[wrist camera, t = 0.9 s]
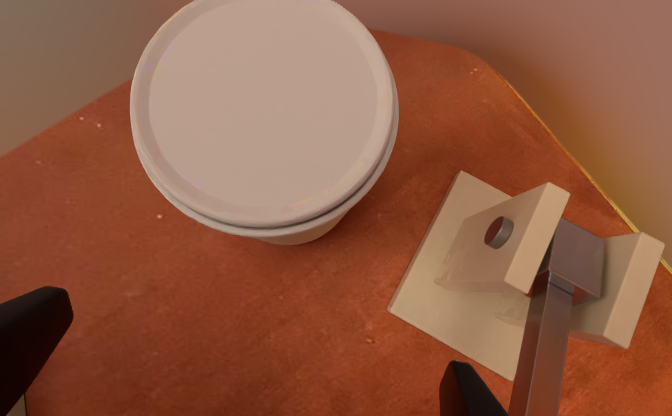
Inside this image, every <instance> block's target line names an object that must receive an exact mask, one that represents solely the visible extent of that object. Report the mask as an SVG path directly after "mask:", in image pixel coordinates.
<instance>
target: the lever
mask: <svg viewBox="0 0 672 416" xmlns="http://www.w3.org/2000/svg"><path fill="white" fill-rule="evenodd" d="M604 247H605V241H604V240H603V239H601V238H599V237H598V236H596V235H594V234H592V233H590V232H588V231H586V230H585V229H583V228H581V227H579V226H577V225H575V224H573V223H572V222H570V221H568V220H566V219H564V218H562V217H561V218H560V220H559V222H558V225H557V227H556V229H555V232H554V234H553V236H552V239H551V241H550V243H549V246H548V248H547V250H546V253H545V255H544V257H543V260H542V262H541V264H540V267H539V269H538V271H537V274H536V276H535V278H534V281H533V283H532V285H531V288H530V290H529V292H528V294H523V295H525V296H527V297H529V298H530V303H529V308H528V313H527V319H526V324H525V329H524V334H523V339H522V344H521V349H520V354H519V359H518V364H517V369H516V374H515V379H514V385H513V390H512V395H511V400H510V405H509V410H508V415H509V416H558V412H559V404H560V397H561V389H562V381H563V373H564V365H565V357H566V349H567V342H568V334H569V326H570V318H571V310H572V307H573V306H576V305H579V304H582V303H585V302H588V301H591V300H594V299H597V298H599V297H600V296H601V284H602V272H603V259H604Z"/></svg>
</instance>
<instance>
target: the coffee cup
mask: <svg viewBox="0 0 672 416" xmlns="http://www.w3.org/2000/svg"><path fill="white" fill-rule="evenodd" d="M130 115H131V127H132V135H133V139H134V144H135V148H136V151H137V153H138V156H139V159H140V161H141V163H142V165H143V167H144V169H145V171H146V173H147V175H148V176H149V178H150V179H151V181H152V182H153V184H154V185H155V186H156V187H157V189H158V190H159V191H160V192H161V193H162V194H163V196H164V197H165V198H166V199H167V200H169V201H170V202H171V203H172V204H173V205H174V206H175V207H176V208H178V209H179V210H180V211H182V212H183V213H184V214H186V215H187V216H189V217H190V218H192V219H194V220H196V221H197V222H199V223H201V224H203V225H206V226H208V227H210V228H213V229H215V230H218V231H222V232H225V233H228V234H233V235H238V236H243V237H251V238H254V239H258V240H262V241H265V242H269V243H273V244H279V245H299V244H303V243H307V242H310V241H313V240H315V239H317V238H319V237H321V236H323V235H324V234H326V233H327V232H328V231H330V230H331V229H332V228H333V227H334V226H335V225H336V224H337V223H338V222H339V221H340V220H341V219H342V218H343V216H344V215H345V214H346V213H347V212H348V211H349V210H350V209H351V208H352V207H353V206H354V205H355V204H357V203H358V202H359V201H360V200H361V199H362V198H363V197H364V196H365V195H366V194H367V193H368V192H369V190H370V189H371V188H372V187H373V185H374V184H375V183H376V182H377V180H378V178H379V177H380V175H381V174H382V172H383V171H384V169H385V167H386V164H387V162H388V160H389V158H390V156H391V153H392V150H393V147H394V143H395V139H396V135H397V129H398V120H399V103H398V95H397V89H396V85H395V81H394V77H393V74H392V72H391V69H390V66H389V64H388V62H387V60H386V58H385V56H384V54H383V53H382V51H381V48H380V46H379V45H378V43H377V42H376V40H375V39H374V37H373V36H372V34H371V33H370V32H369V31H368V29H367V28H366V27H365V26H364V25H363V24H362V23H361V22H360V21H359V20H358V19H357V18H356V17H355V16H354V15H353V14H352V13H350V12H349V11H348V10H346V9H345V8H344V7H342V6H341V5H339V4H338V3H336V2H335V1H333V0H195V1H193V2H191V3H190V4H188V5H186V6H185V7H183V8H182V9H180V10H179V11H178V12H177V13H176V14H174V15H173V16H172V17H171V18H170V19H169V20H167V22H165V23H164V24H163V25H162V26H161V28H160V29H159V30H158V31H157V32H156V34H155V35H154V36H153V38H152V39H151V40H150V42H149V43H148V45H147V46H146V48H145V50H144V52H143V54H142V56H141V58H140V60H139V63H138V65H137V68H136V71H135V74H134V78H133V81H132V88H131V97H130Z"/></svg>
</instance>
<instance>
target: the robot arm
mask: <svg viewBox="0 0 672 416" xmlns="http://www.w3.org/2000/svg"><path fill="white" fill-rule="evenodd" d="M72 321H73V310H72V306H71V303H70V299H69V295H68V292H67V291H66V290H65V289H63V288H58V287H52V286H45V287H42V288H39V289H37V290H34V291H32V292H29V293H27V294H24V295H22V296H19V297H17V298H14V299H12V300H9V301H7V302H4V303H2V304H0V416H7V415H8V413H9V412H10V411H11V410H12V408H13V407H14V406H15V404H16V403H17V402H18V401H19V399H20V398H21V397H22V396H23V394H24V393H25V392H26V390H27V389H28V388H29V386H30V385H31V384H32V382H33V381H34V379H35V378H36V377H37V375H38V374H39V372H40V371H41V369H42V367H43V366H44V364H45V363H46V361H47V360H48V358H49V357H50V355H51V354H52V352H53V351H54V349H55V348H56V346H57V345H58V343H59V342H60V340H61V339H62V337H63V336H64V334H65V333H66V331H67V330H68V328H69V327H70V325H71V323H72ZM439 400H440V416H509V415H508V414H507V412H506V411H505V410H504V408H503V407H502V406H501V404H500V403H499V402H498V400H497V399H496V398H495V396H494V395H493V394H492V392H491V391H490V390H489V388H488V387H487V386H486V384H485V383H484V382H483V380H482V379H481V378H480V376H479V375H478V374H477V372H476V371H475V370H474V368H473V367H472V366H471V365H470V364H469V363H467V362H462V361H457V360H452V361H450V362H449V364H448V366H447V369H446V371H445V373H444V376H443V378H442V380H441V383H440V388H439Z"/></svg>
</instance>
